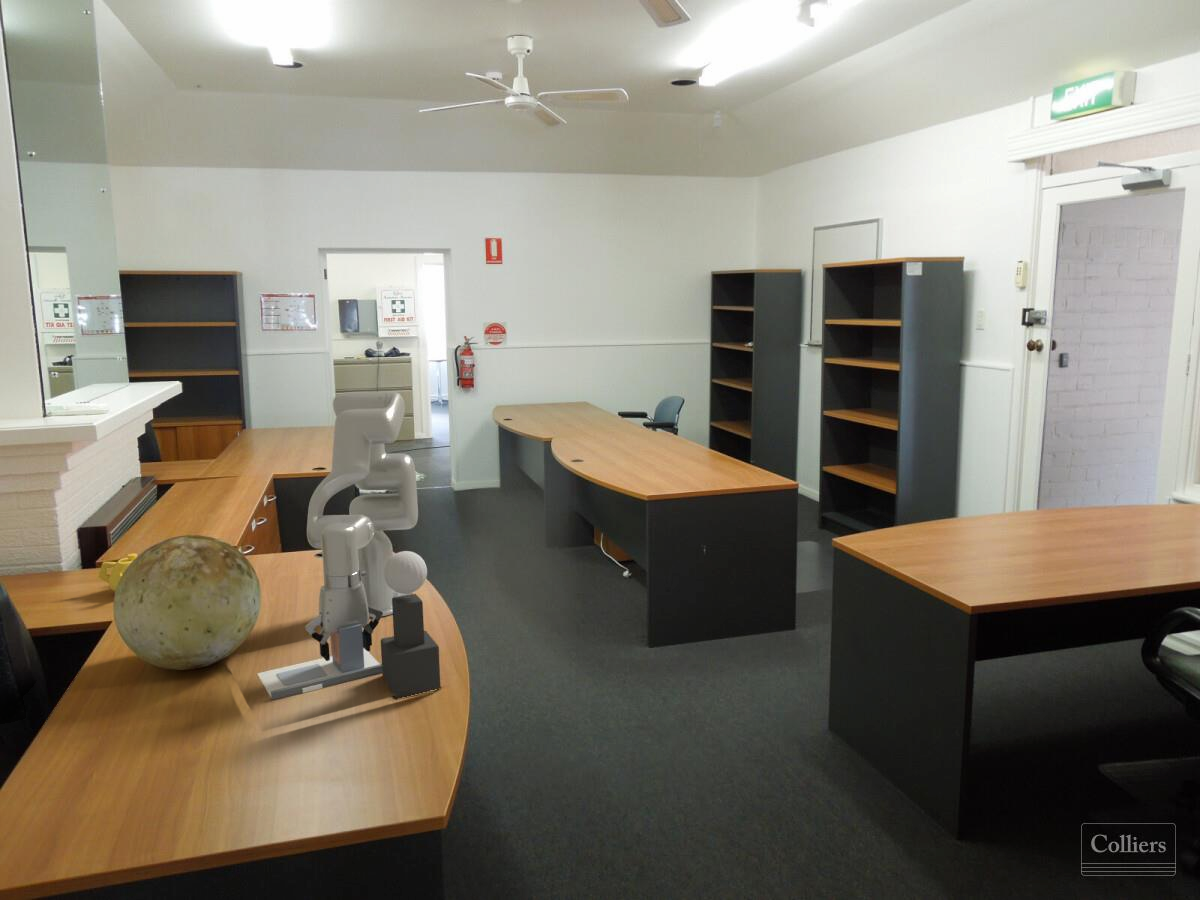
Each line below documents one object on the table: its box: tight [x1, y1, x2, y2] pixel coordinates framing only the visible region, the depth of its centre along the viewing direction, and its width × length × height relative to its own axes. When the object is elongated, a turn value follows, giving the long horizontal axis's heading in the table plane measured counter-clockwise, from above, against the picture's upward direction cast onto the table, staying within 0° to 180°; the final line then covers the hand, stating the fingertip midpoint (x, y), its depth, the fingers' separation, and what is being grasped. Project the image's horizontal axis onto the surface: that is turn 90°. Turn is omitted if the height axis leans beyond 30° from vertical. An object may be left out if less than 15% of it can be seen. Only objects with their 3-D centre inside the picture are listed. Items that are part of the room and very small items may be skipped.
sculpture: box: [380, 550, 441, 700], centre depth 178 cm, size 10×10×30 cm
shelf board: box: [256, 648, 382, 701], centre depth 184 cm, size 24×15×3 cm, turn 123°
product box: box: [329, 623, 364, 673], centre depth 187 cm, size 5×7×10 cm
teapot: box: [98, 552, 141, 593], centre depth 241 cm, size 20×18×11 cm
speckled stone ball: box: [113, 534, 262, 671], centre depth 190 cm, size 30×30×30 cm
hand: (346, 653), depth 187 cm, fingers open, 8 cm apart
